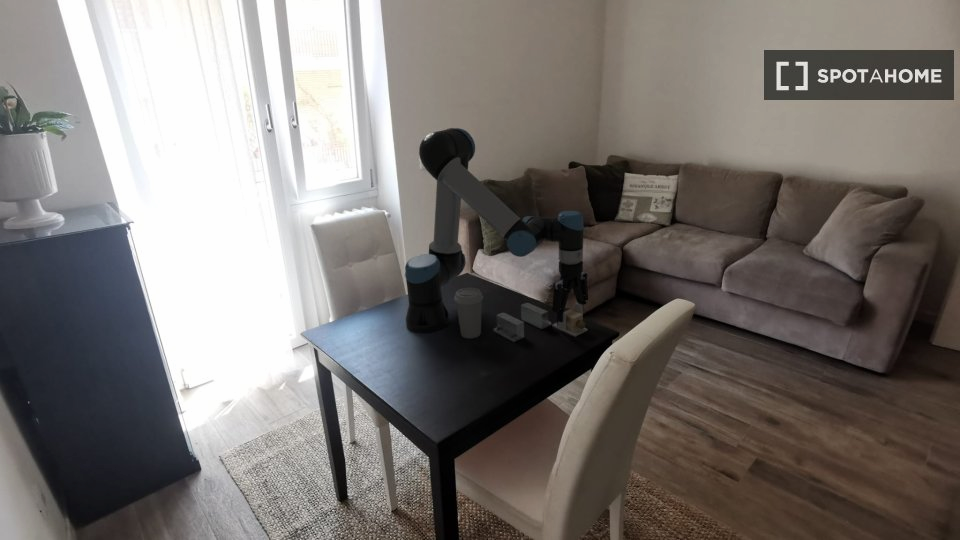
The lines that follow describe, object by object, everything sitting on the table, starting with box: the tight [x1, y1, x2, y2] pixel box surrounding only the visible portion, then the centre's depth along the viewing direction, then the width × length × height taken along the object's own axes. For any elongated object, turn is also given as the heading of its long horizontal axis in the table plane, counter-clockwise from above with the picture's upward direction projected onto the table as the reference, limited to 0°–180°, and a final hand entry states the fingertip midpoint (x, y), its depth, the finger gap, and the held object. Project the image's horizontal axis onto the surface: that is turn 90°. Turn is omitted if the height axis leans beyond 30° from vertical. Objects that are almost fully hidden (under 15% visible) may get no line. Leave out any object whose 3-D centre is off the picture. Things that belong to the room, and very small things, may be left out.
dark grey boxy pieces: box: [493, 302, 552, 343], centre depth 164 cm, size 10×17×6 cm, turn 128°
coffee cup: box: [453, 287, 484, 339], centre depth 160 cm, size 10×10×15 cm
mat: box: [551, 322, 588, 338], centre depth 162 cm, size 10×6×1 cm, turn 38°
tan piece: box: [556, 307, 586, 333], centre depth 161 cm, size 9×5×5 cm, turn 38°
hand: (570, 325), depth 162 cm, fingers open, 7 cm apart
